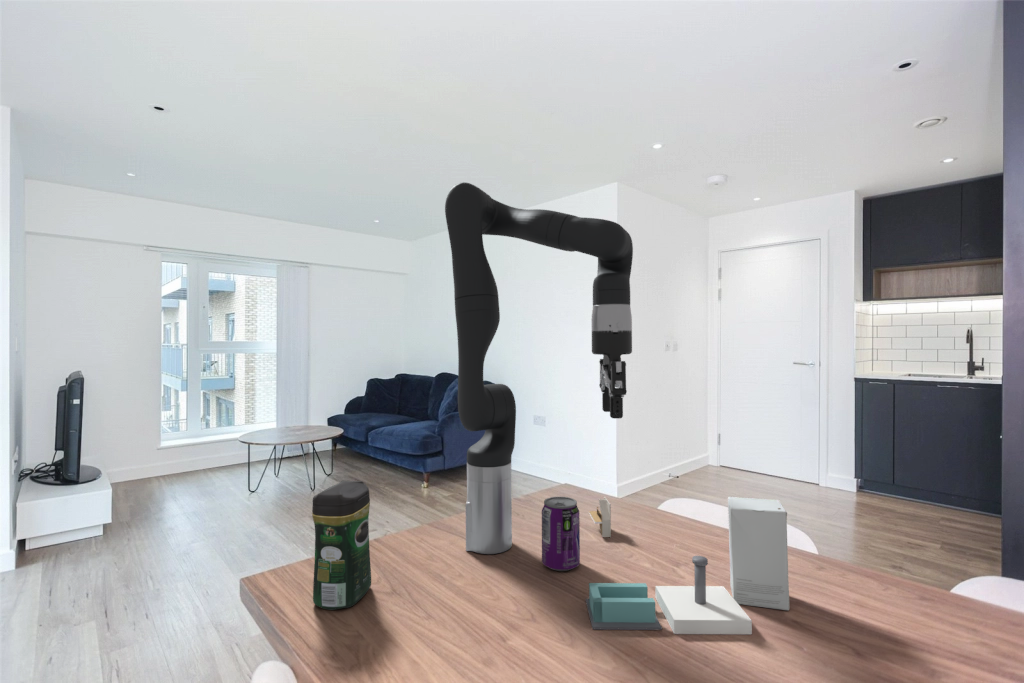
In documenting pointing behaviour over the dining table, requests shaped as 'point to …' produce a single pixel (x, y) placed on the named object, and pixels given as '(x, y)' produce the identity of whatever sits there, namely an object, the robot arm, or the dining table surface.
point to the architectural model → (603, 517)
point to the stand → (702, 607)
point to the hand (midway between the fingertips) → (612, 414)
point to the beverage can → (560, 533)
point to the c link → (621, 602)
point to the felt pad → (622, 623)
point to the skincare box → (758, 552)
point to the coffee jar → (341, 545)
